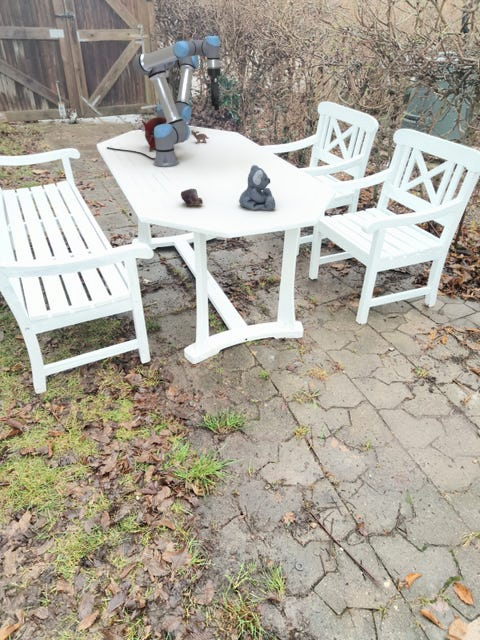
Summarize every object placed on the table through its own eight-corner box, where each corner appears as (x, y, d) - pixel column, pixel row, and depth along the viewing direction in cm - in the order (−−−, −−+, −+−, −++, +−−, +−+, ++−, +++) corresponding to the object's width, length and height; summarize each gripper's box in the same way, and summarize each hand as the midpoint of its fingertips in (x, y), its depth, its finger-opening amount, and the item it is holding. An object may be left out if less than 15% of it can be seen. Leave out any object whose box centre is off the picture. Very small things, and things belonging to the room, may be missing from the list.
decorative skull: (144, 123, 333) (138, 119, 309) (175, 116, 332) (171, 112, 308) (152, 153, 340) (146, 152, 316) (182, 146, 339) (179, 144, 315)
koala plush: (276, 211, 223) (277, 171, 212) (240, 212, 222) (240, 172, 211) (271, 199, 237) (272, 161, 226) (237, 200, 236) (237, 162, 225)
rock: (196, 202, 238) (178, 205, 233) (194, 185, 234) (176, 188, 230) (205, 205, 228) (187, 208, 224) (203, 188, 224) (185, 191, 220)
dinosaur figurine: (192, 144, 338) (191, 130, 333) (191, 142, 343) (190, 129, 338) (210, 143, 340) (209, 130, 335) (209, 141, 345) (208, 128, 339)
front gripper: (223, 69, 248) (224, 111, 260) (217, 65, 268) (218, 104, 280) (209, 70, 247) (211, 112, 259) (204, 65, 267) (206, 104, 279)
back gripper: (171, 79, 307) (174, 112, 319) (167, 74, 326) (170, 106, 339) (160, 79, 305) (163, 113, 317) (156, 75, 325) (160, 106, 337)
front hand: (215, 108), depth 269 cm, fingers open, 13 cm apart
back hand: (166, 109), depth 328 cm, fingers open, 13 cm apart
